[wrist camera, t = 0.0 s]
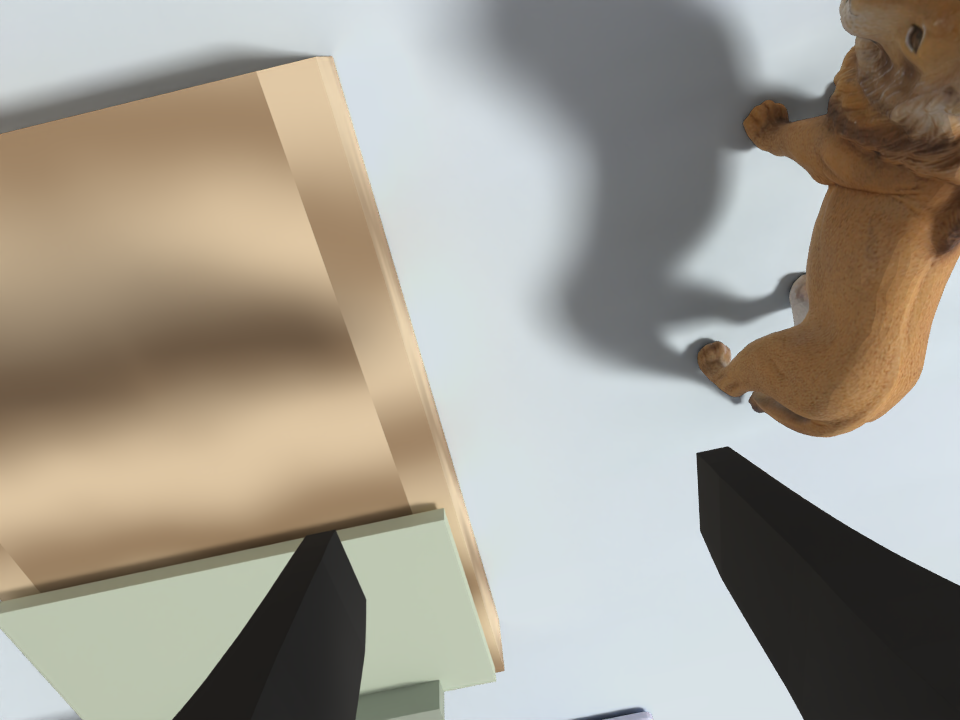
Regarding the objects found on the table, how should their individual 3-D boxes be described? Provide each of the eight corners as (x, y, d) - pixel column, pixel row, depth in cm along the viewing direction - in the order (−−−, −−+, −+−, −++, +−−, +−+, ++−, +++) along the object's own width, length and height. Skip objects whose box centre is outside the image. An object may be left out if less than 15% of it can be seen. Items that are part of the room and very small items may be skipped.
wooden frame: (498, 619, 28) (504, 670, 25) (152, 689, 28) (127, 746, 26) (332, 56, 17) (315, 56, 14) (-231, 194, 17) (-334, 215, 15)
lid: (495, 667, 25) (498, 710, 23) (122, 742, 25) (101, 788, 24) (443, 507, 21) (444, 545, 19) (0, 602, 21) (-36, 646, 20)
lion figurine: (709, -34, 16) (973, -121, 8) (901, -62, 16) (1351, -175, 8) (689, 412, 23) (823, 602, 15) (824, 393, 23) (1030, 572, 15)
